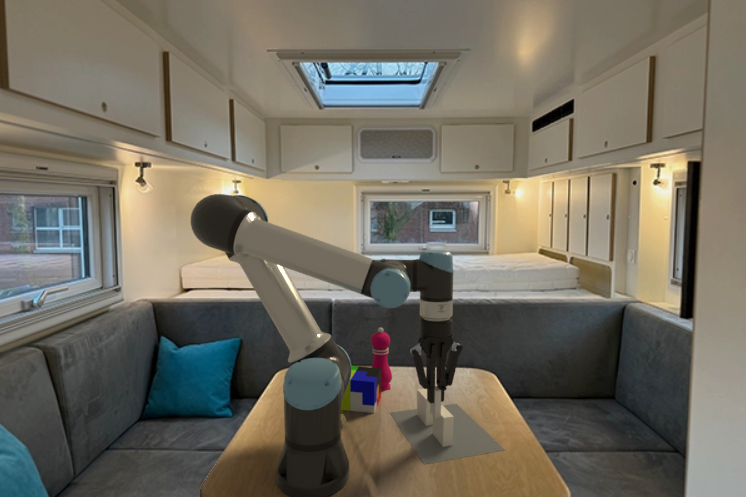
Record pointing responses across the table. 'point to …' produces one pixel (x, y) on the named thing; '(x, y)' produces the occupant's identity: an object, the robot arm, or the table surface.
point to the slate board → (465, 436)
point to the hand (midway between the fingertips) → (435, 414)
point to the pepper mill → (382, 357)
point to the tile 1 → (424, 407)
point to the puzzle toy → (362, 390)
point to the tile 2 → (443, 427)
